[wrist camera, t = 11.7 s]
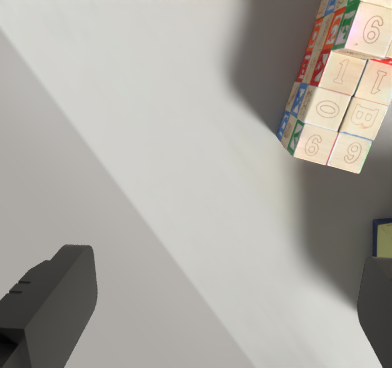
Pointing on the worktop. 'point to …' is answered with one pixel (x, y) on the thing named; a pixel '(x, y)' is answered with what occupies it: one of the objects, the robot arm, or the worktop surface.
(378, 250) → the protein box
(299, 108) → the stack of blocks
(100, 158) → the worktop surface
